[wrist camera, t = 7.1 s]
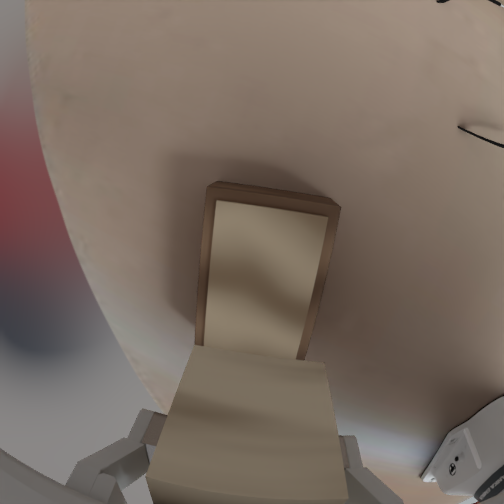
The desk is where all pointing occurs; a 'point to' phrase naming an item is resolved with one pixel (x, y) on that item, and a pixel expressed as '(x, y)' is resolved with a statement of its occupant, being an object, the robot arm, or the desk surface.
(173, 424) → the block
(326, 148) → the desk surface
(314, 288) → the plinth
